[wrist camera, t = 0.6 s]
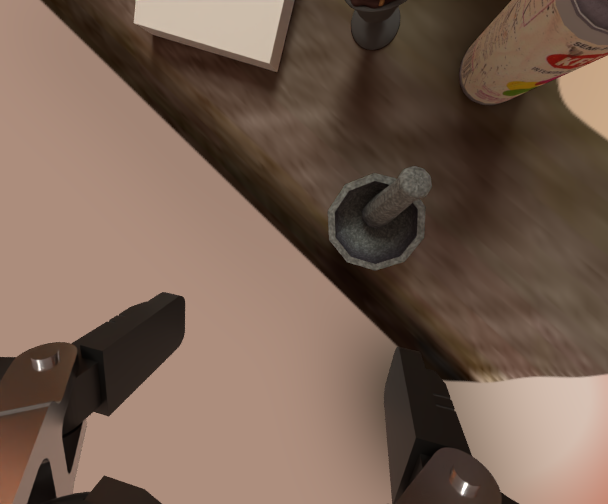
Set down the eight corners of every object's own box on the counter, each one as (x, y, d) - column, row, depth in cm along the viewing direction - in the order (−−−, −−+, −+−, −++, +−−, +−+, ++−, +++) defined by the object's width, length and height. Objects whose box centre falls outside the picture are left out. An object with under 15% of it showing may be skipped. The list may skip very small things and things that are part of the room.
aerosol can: (469, 117, 31) (634, 41, 12) (450, 51, 30) (600, -147, 11) (542, 85, 29) (868, -62, 10) (524, 13, 28) (860, -304, 9)
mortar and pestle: (380, 265, 37) (387, 309, 26) (319, 225, 37) (300, 250, 26) (439, 190, 34) (478, 202, 22) (371, 145, 34) (376, 135, 22)
